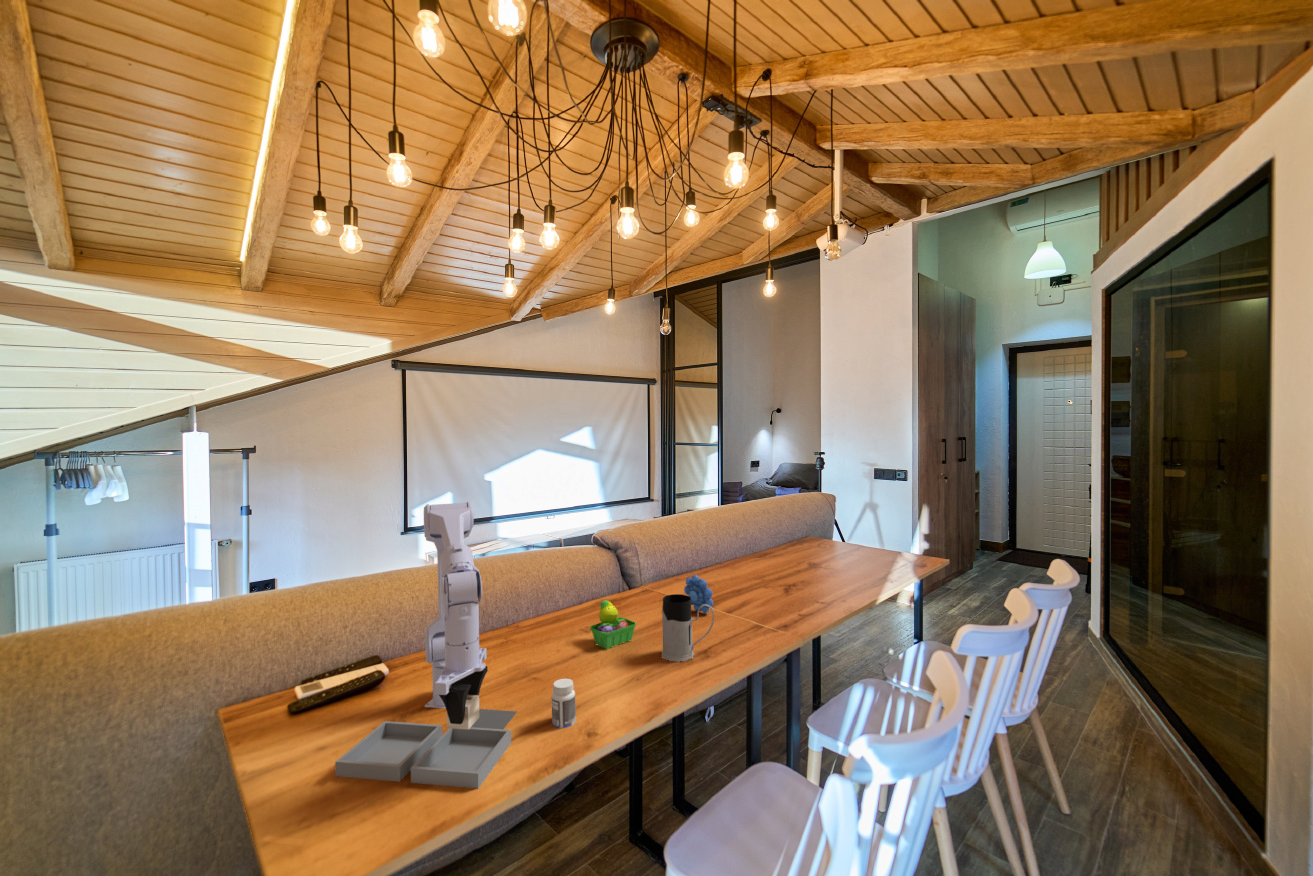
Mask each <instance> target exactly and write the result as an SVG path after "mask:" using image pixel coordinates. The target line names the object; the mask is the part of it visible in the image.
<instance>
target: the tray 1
mask: <svg viewBox="0 0 1313 876" xmlns="http://www.w3.org/2000/svg"><path fill="white" fill-rule="evenodd" d="M442 735H443V725H442V724H433V723H432V724H430V723H416V722H402V721H390V720H389V721H388V720H385V721H383V722H382V723H381V724H379V725H378V726H377V727H376V728H374V729H373V730H372V731H371V732H369V733H368V734H367V735H366V736H365V737H363V739H361V740H360V741H359V742H358V743H356V744H355V745H354V746H352V748H350V749H349V750H348V751H346V752H345V753H344V754H343V755H341V756H340V757H339V758H338V759H337V760H336V761H335V762H334V763H335V766H334V768H335V770H334V771H335V775H334V776H335V777H342V778H343V777H344V778H353V779H365V780H377V781H387V782H389V781H390V782H401V781H402V780H404V779H405V778H406V776H407V775H408V774H410V773H411V767H412V766H413V765H414V764H415V763H416V762H417V761H418V760H419V759H420V758H421V757H422V756H423V755H424V754H425V753H426V752H427V751H428V750H429V749H430V748H431V747H432V746H433V745H434V744H435V742H436V741H437V740H438V739H439V738H440V737H441V736H442Z"/></svg>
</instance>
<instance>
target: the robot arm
mask: <svg viewBox="0 0 1313 876" xmlns="http://www.w3.org/2000/svg"><path fill="white" fill-rule="evenodd" d="M474 516H475V515H474V506H473V504H472V503H471V501H466V502H458V503H457V502H456V503H455V502H454V503H443V504H442V503H440V504H427V503H426V505H425V506H424V507H423V530H424V538H425V541H428V542H430V543H433V544H434V546H435V548H436V552H437V554H436V555H437V557H436V558H437V591H438V592H437V595H438V598H437V599H438V616H437V617H435V619H434V620H432V621H431V622H430V623H428V624H427V626H426V628H425V638H424V639H425V640H424V648H425V650H424V651H425V653H424V655H425V662H426V663H428V664H430V665H431V667H432V673H431V674H432V698H431V700H429V701H427V703H426V704H425V705H424V706H423V707H425V708H433V709H434V708H436V709H437V708H438V709H446V714H447V713H448V717H449V720H450V723H451V724H462V723H463V720H464V715H465V704H466V699H467V695H479V696H480V692H481V688H482V684H483V681H484V679H485V677H486V675H487V672H488V666H487V665H486V663H485V662H483V661H486V659H487V651H488V650H487V648H486V647H483V648H482V647H480V620H479V619H480V618H479V617H480V616H479V615H480V614H479V613H480V610H479V603H481V601H482V595H483V583H482V577H481V573H480V570H479V568H478V566H475V561H474V556H473V552H472V549H471V548H470V546H468V545H467V544H465V539H467V538H469V536H470V534H471V532H472V531H473V530H472V529H473V528H474V524H475V523H474Z"/></svg>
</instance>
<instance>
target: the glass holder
mask: <svg viewBox="0 0 1313 876" xmlns="http://www.w3.org/2000/svg"><path fill="white" fill-rule="evenodd" d="M703 606H707V607H709V609H710V610H711V611H712V622H711V625H710V626H709V629H708V630H707V631H706V633H705V634H704V635H702V636H701V637H700V638H699V639H697V640H696V641H695V642H694V643H693V622H695V621H698V619H699V616H700V615H699V613H700V612H699V610H700V608H701V607H703ZM661 611H662V612H661V613H662V614H661V615H662V618H661V619H662V623H661V624H662V650H661V654H660V655H662V657H663V658H664V659H663V658H662V657H661V658H662V659H663V660H665V659H666V660H665V661H667V660H669V661H668V662H671V661H676V662H675V663H681V662H680V661H685V662H687V661H686V660H688V659H691V658H692V659H693V658H694V657H693V655H694V656H695V653H694V647H695V646H696V645H697V644H698V643H699V642H701V641H702V640H703V639H704V638H706V637H707V635H708V634H709V633H710V632H711V630H712V628H713V626H714V622H715V611H714V608H713V606H712V607H711V606H709V605H706V604H704V605H701V606H700V607H699V608H698V611H697V612H696V618H693V617H692V605H691V597H689V595H687V594H682V593H681V594H676V593H675V594H674V593H673V594H668V595H665V596H663V598H662V607H661ZM692 659H691V660H692Z"/></svg>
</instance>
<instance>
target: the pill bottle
mask: <svg viewBox="0 0 1313 876" xmlns="http://www.w3.org/2000/svg"><path fill="white" fill-rule="evenodd" d="M552 690H553V691H552V694H551V724H552V725H553V726H554V727H556V728H560V729H563V728H569V727H571V726H573V725H575V723H576V722H577V715H576V714H577V713H576V712H577V711H576V691H575V690H574V681H573V679H570V678H561V679H557V680H555V681H554V682H553V686H552Z"/></svg>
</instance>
